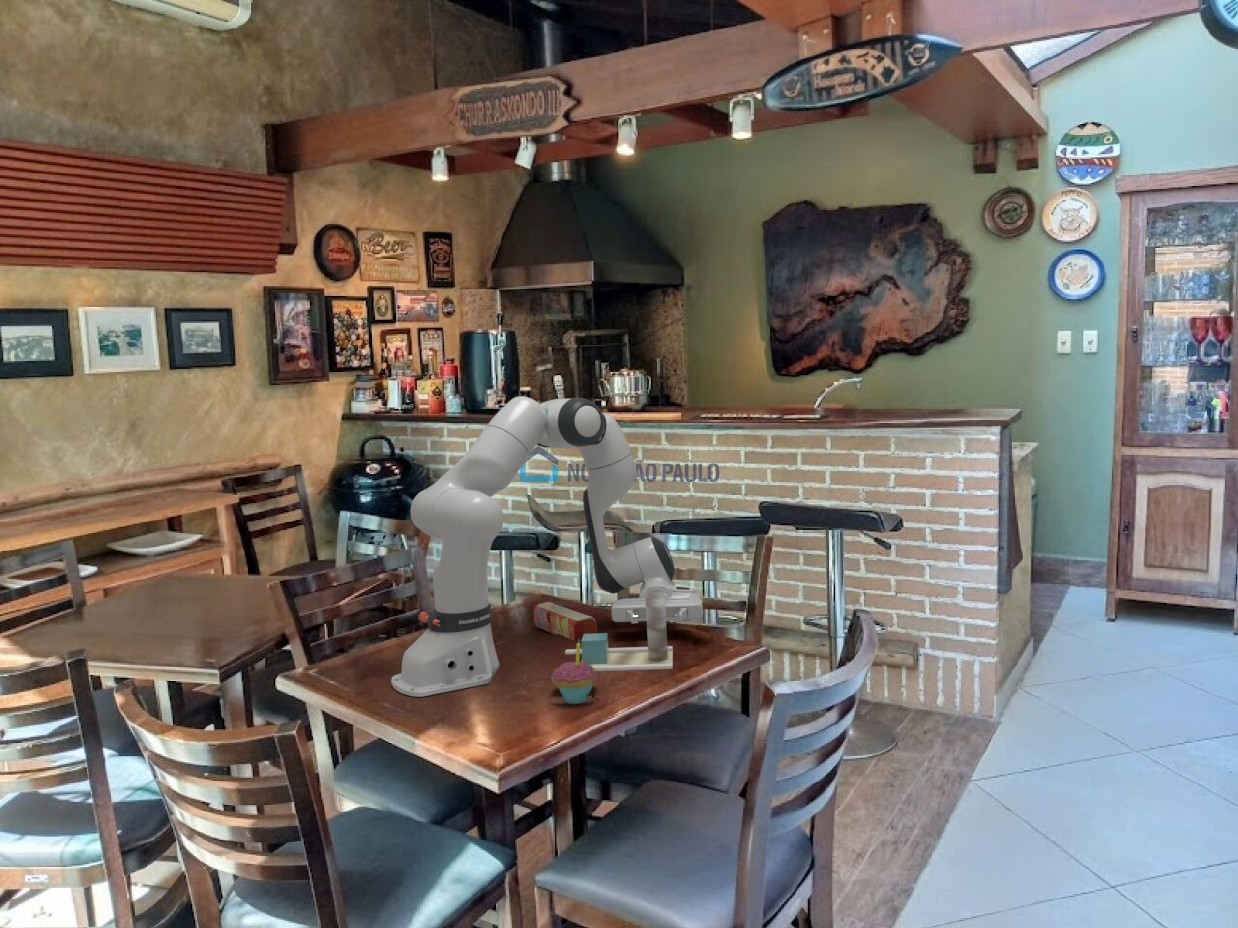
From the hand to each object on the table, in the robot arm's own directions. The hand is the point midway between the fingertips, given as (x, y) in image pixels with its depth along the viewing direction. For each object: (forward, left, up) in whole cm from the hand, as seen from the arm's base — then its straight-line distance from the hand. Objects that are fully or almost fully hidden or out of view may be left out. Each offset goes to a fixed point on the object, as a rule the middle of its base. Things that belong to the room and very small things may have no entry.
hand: (656, 619), depth 195 cm
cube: (-14, +3, -6) cm, 16 cm away
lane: (-10, 0, -8) cm, 13 cm away
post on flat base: (-9, -1, -8) cm, 12 cm away
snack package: (-6, +27, -8) cm, 29 cm away
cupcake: (-28, -10, -8) cm, 30 cm away
